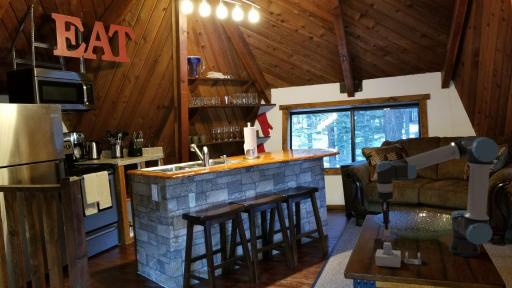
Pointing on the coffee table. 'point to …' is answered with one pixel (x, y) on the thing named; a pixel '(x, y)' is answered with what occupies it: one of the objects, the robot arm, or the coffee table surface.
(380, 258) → the panel
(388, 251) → the plug
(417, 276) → the coffee table surface
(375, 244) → the electronic device
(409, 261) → the holster
